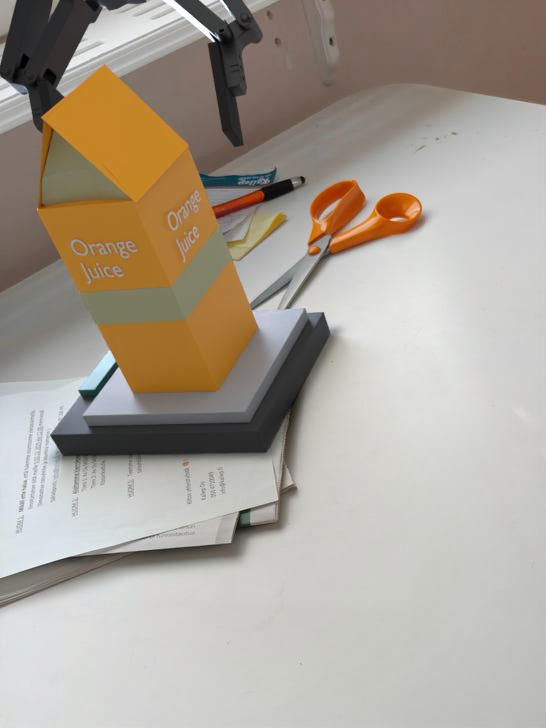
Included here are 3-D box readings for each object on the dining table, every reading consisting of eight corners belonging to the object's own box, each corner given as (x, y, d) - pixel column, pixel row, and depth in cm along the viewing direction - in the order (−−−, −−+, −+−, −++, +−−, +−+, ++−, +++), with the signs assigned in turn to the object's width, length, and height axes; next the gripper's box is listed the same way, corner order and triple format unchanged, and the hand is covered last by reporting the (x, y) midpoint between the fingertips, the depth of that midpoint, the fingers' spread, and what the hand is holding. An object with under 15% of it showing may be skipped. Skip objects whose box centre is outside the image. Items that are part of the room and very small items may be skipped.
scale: (62, 455, 76) (42, 424, 74) (146, 341, 86) (131, 311, 84) (266, 452, 71) (252, 419, 69) (330, 332, 81) (320, 300, 79)
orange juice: (130, 393, 75) (-12, 124, 60) (177, 330, 80) (57, 69, 65) (219, 391, 72) (94, 111, 58) (261, 326, 78) (156, 56, 63)
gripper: (272, -128, 75) (317, 145, 77) (-23, -57, 78) (25, 206, 79) (240, -205, 68) (290, 98, 69) (-85, -124, 70) (-32, 168, 72)
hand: (149, 157), depth 74 cm, fingers open, 13 cm apart
